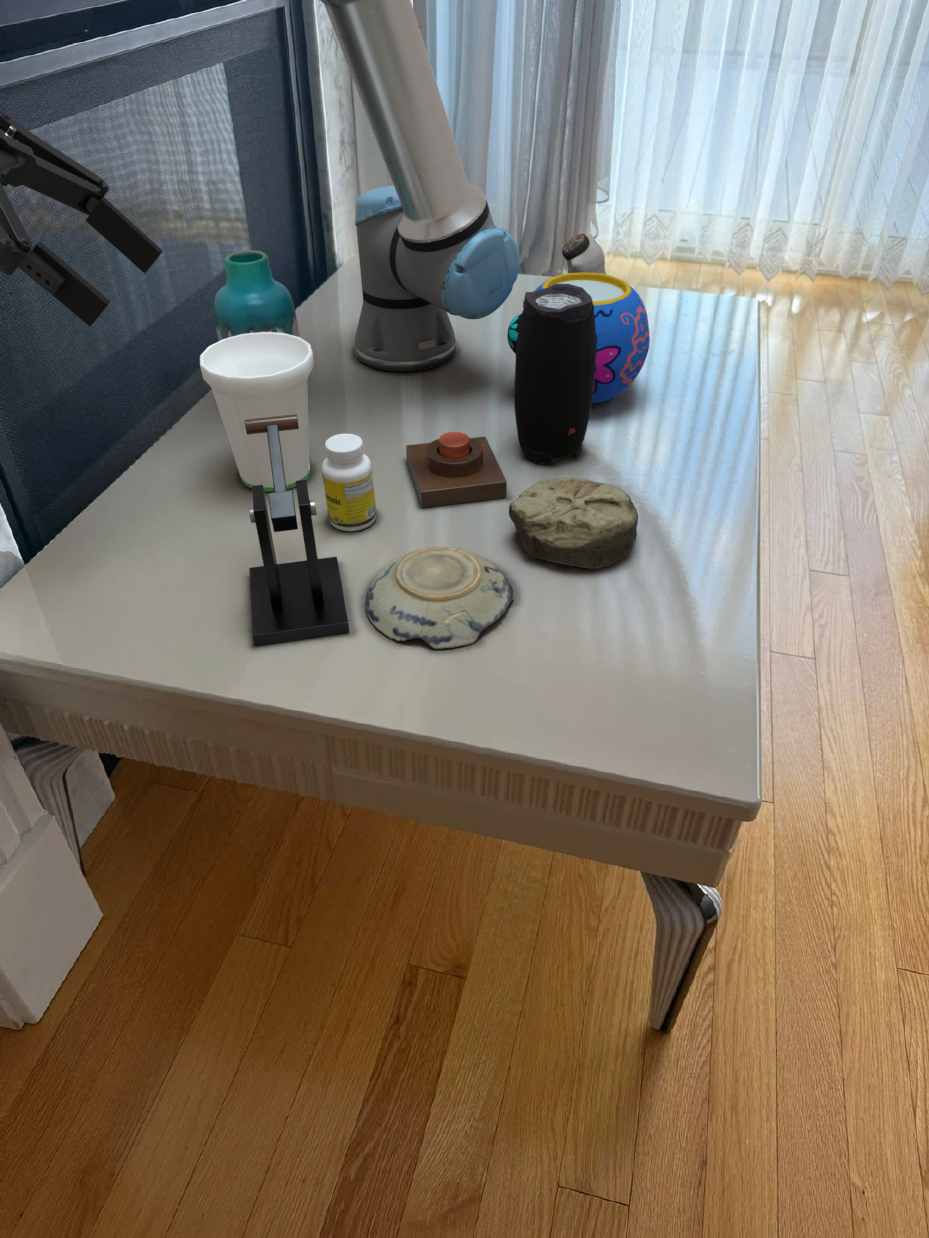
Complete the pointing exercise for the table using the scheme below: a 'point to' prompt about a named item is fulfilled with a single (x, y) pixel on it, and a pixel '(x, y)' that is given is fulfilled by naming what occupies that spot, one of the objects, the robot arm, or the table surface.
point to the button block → (455, 474)
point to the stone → (575, 522)
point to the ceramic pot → (608, 330)
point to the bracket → (294, 583)
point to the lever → (277, 468)
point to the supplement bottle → (348, 483)
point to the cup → (262, 400)
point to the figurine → (584, 255)
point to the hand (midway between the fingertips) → (129, 287)
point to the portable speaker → (554, 372)
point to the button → (454, 445)
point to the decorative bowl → (438, 597)
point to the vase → (252, 299)
